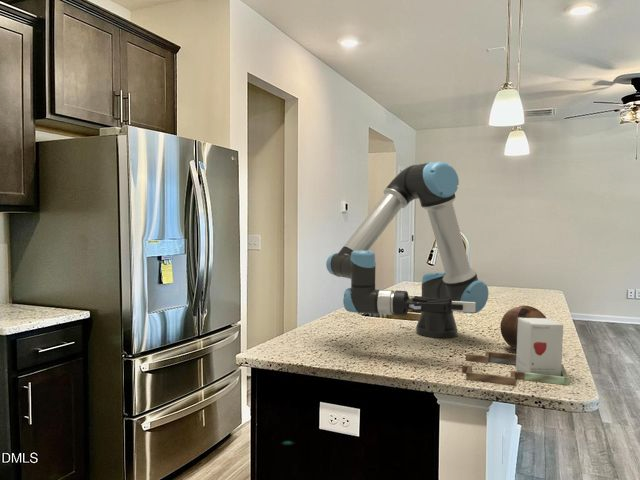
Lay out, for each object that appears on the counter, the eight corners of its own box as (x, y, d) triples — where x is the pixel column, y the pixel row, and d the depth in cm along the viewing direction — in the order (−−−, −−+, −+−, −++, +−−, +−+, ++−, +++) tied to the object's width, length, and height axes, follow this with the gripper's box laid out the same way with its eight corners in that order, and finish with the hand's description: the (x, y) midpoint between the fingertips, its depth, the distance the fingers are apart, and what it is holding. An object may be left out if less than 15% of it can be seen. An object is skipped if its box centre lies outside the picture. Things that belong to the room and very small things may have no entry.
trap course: (460, 378, 130) (460, 371, 130) (467, 354, 154) (467, 349, 154) (571, 392, 121) (571, 385, 121) (560, 365, 145) (560, 359, 145)
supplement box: (528, 378, 131) (530, 323, 131) (515, 369, 140) (516, 317, 140) (562, 379, 131) (564, 324, 131) (546, 369, 140) (548, 317, 140)
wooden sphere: (513, 343, 171) (514, 300, 171) (557, 352, 160) (558, 306, 159) (491, 350, 161) (492, 304, 161) (536, 360, 150) (537, 311, 149)
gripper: (398, 311, 155) (476, 315, 147) (389, 319, 143) (473, 324, 134) (398, 287, 155) (476, 291, 146) (389, 293, 142) (474, 297, 134)
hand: (475, 307), depth 140 cm, fingers closed
